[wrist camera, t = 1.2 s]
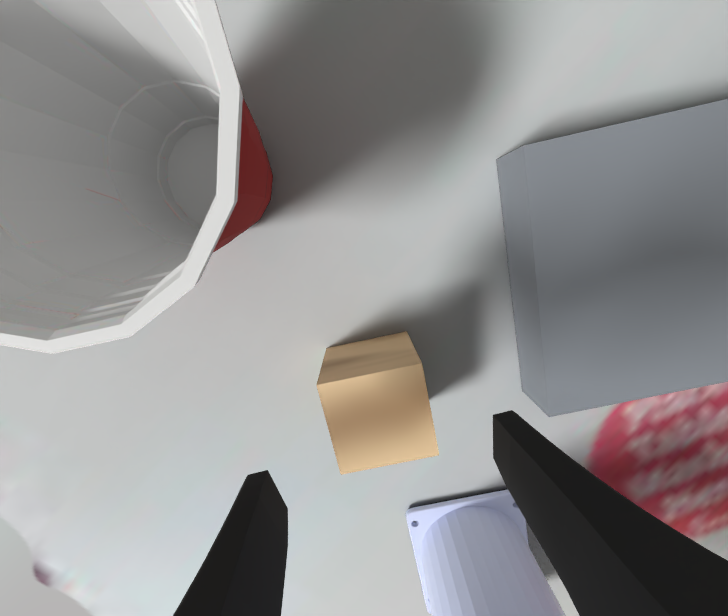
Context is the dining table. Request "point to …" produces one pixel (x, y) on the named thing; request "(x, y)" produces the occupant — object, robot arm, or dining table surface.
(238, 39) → the dining table surface
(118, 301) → the plastic cup
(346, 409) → the oak cube
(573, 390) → the slate base
